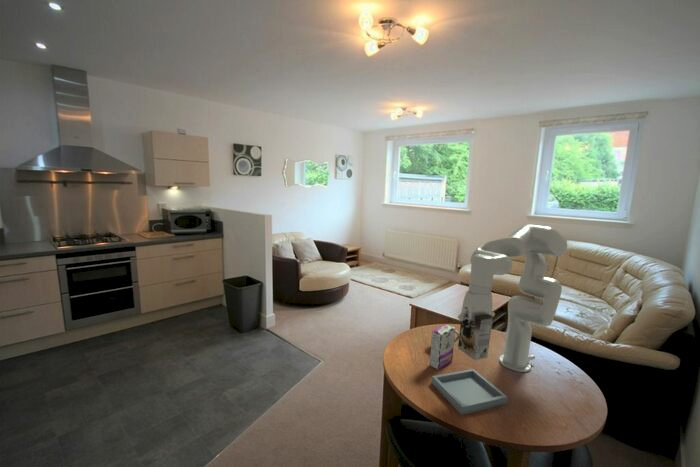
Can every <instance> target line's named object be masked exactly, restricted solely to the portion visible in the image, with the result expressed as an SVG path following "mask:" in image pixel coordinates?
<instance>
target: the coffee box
mask: <svg viewBox="0 0 700 467" xmlns="http://www.w3.org/2000/svg"><path fill="white" fill-rule="evenodd" d="M467 317H468V316H467ZM464 318H465V317H464ZM493 319H494V317H493V316H491V315H489V314H487V315H475V317H474V320H473V321H472V323H471V325H470V328H471V333H470V338H467V337H466V336H464V335H463V327H464V325H463V324H462V323H461V322H460V325H459V326H460V327H459V339H458V344H457V349H458V350H459V351H461V352H463V353H464V354H465V355H467V356H468V357H470V358H471V359H472V360H473V361H479V360H483V359H488V357H489V348H490V342H491V341H490V340H491V336H492V334H491V333H492V327H493V321H494V320H493ZM468 321H469V320H468V319H467V323H468Z"/></svg>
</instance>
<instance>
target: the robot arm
mask: <svg viewBox="0 0 700 467" xmlns="http://www.w3.org/2000/svg"><path fill="white" fill-rule="evenodd" d="M567 249H568V241H567V240H566V237H565V236H564V235H562V233H561V232H559V231H558V230H556V229H555V228H553V227H551V226H547V225H546V226H544V225H538V224H537V225H536V224H523V225H521V226H519V227H517V229H515V230H514V231H513V232H511V233H510V234H509V235H508V236H507V237H502V238H500V239H495V240H491V241H490V240H489V241H487V242H485V243H483V244H480V245H479V246H478V247H476V249H475V250H474V251H473V252H472V254H471V257H470V265H471V267H470V274H469V275H470V276H469V284H468V290H467V291H466V292H465V294H464V298H463V301H462V302H463V303H462V307H461V312H460V313H459V315H457V319H458V320H459V321H460V324H461V323H462V324H463V325H464V327H463V335H464V336H466V337H467V338H470V333H471V328H470V325H471V323H472V321H473V320H474V317H475V315H487V314H489V315H491V316H493V318H494V317H495V315H496V313H495V312H494V311H493V294H492V290H493V289H494V288H493V287H494V286H493V281H494V275H497V276H504V275H506V274H508V273H509V272H510V271H511V270H512V268H513V260H512V259H511V258H513V257H520V256H522V255H523V254H524V257H525V260H524V261H525V262H524V266H523V270H522V272H521V275H520V278H519V282H518V290H519V291H520V292H521V293H523V294H524V295H525V294H526V295H528V296H531V297H535V298H537V299H541V300H543V301H539V300H536V299H533V298H531V297H526V296H523V295H513V296H511V297H510V298H509V299H508V303H507V311H508V312H507V314H508V315H507V317H508V320H507V321H508V322H507V327H506V335H505V336H506V337H505V343H504V351H503V354H502V355H500V356H499V359H498V361H499V363H500V364H501V365H503V367H504V368H506V369H507V370H511V371H513V372H517V373H527V372H529V371H531V367H532V366H531V364H530V361H533V360H535V359H536V357H535V355H533V354H530V347H531V340H532V334H533V329H532V325H531V323H532V324H535V325H539V326H540V327H541V326H542V327H550V326H551V324H552V323H553V321H554V319H555V316H556V312H557V309H558V306H559V302H560V300H561V296H562V287H563V286H562V283H561V282H560V281H559V280H558V279H556V278H554V277H553V278H552V277H548V276H546V273H547V269H548V262H547V260H546V259H545V257H544V255H547V256H553V257H562V256H563V255H564V254H565V253H566V252H567ZM467 316H468V317H467ZM464 317H465V318H464ZM467 319H468V320H469V321H468V323H467ZM529 354H530V355H529Z"/></svg>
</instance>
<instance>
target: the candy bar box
mask: <svg viewBox="0 0 700 467" xmlns="http://www.w3.org/2000/svg"><path fill="white" fill-rule="evenodd" d="M455 330H456V327H455V326H451V325H449V324H447V323H445V324H444V325H441V326H439V327H437V328H435V329H433V330H432V331H431V343H430V344H431V345H430V354H429V355H430V356H429V366H430V367H431V368H433V369H435V370H437V371H439V370H441V369H443V368H444V367H446V366H447V365H449V364H451V363H452V362H453V358H454V357H453V356H454V345H455V343H454V339H455V335H456V333H455Z"/></svg>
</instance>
